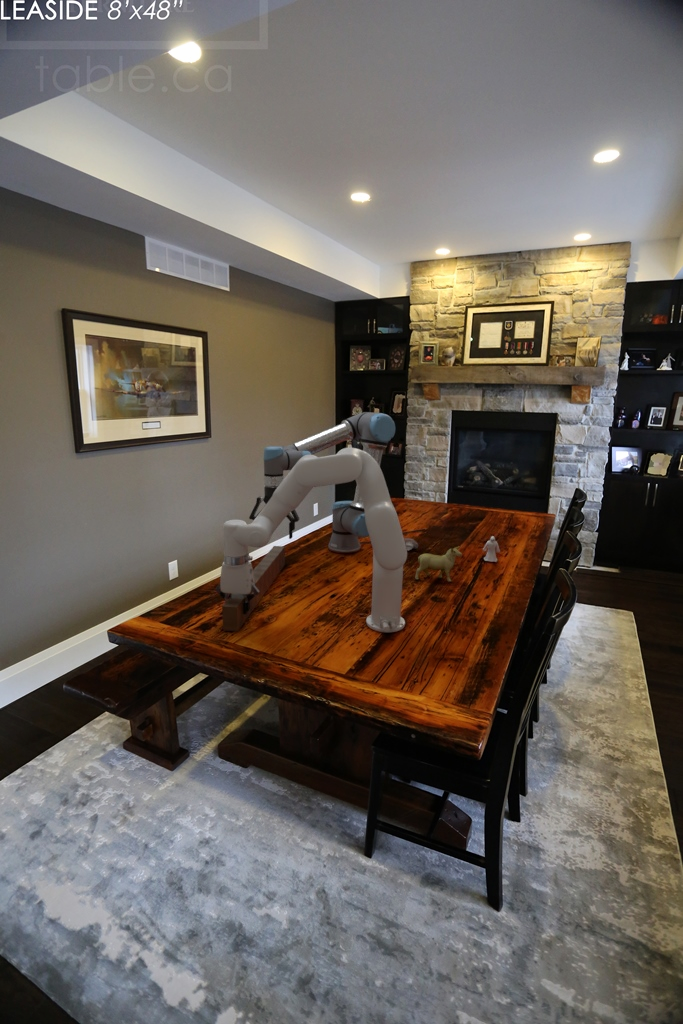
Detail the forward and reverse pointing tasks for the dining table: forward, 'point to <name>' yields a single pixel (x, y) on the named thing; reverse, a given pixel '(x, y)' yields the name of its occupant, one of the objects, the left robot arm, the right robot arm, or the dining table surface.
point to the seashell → (410, 543)
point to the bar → (262, 580)
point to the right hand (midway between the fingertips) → (238, 611)
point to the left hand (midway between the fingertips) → (274, 537)
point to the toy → (438, 563)
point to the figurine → (491, 550)
